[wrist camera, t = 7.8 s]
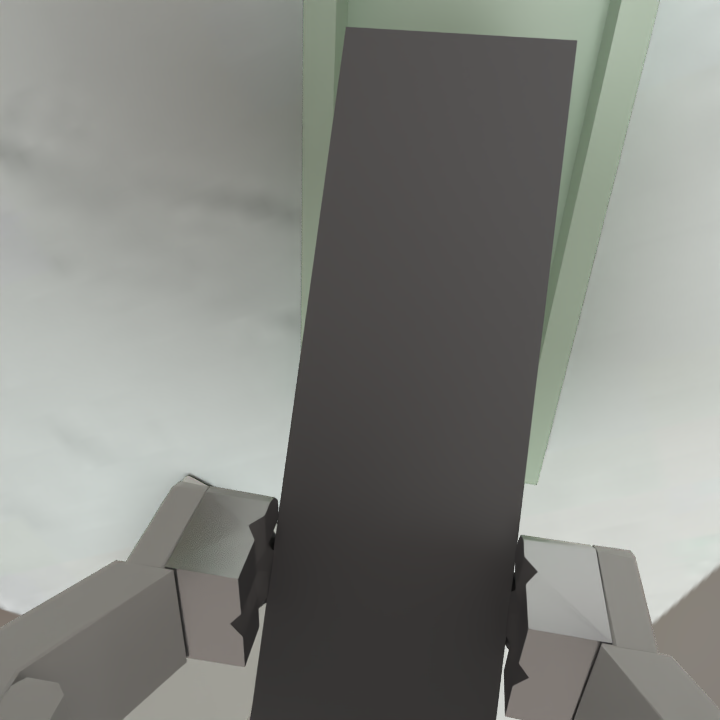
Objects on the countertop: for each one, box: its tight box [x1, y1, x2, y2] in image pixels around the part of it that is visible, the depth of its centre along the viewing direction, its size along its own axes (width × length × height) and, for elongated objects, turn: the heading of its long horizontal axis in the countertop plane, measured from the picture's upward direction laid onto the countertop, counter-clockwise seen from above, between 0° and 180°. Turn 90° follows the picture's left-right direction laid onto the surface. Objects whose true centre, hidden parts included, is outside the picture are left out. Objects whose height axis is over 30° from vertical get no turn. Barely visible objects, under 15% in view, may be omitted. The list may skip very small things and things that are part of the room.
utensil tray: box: [301, 0, 660, 485], centre depth 23 cm, size 10×21×2 cm, turn 177°
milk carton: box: [123, 476, 277, 720], centre depth 28 cm, size 7×7×19 cm
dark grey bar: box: [250, 27, 577, 720], centre depth 11 cm, size 15×4×4 cm
